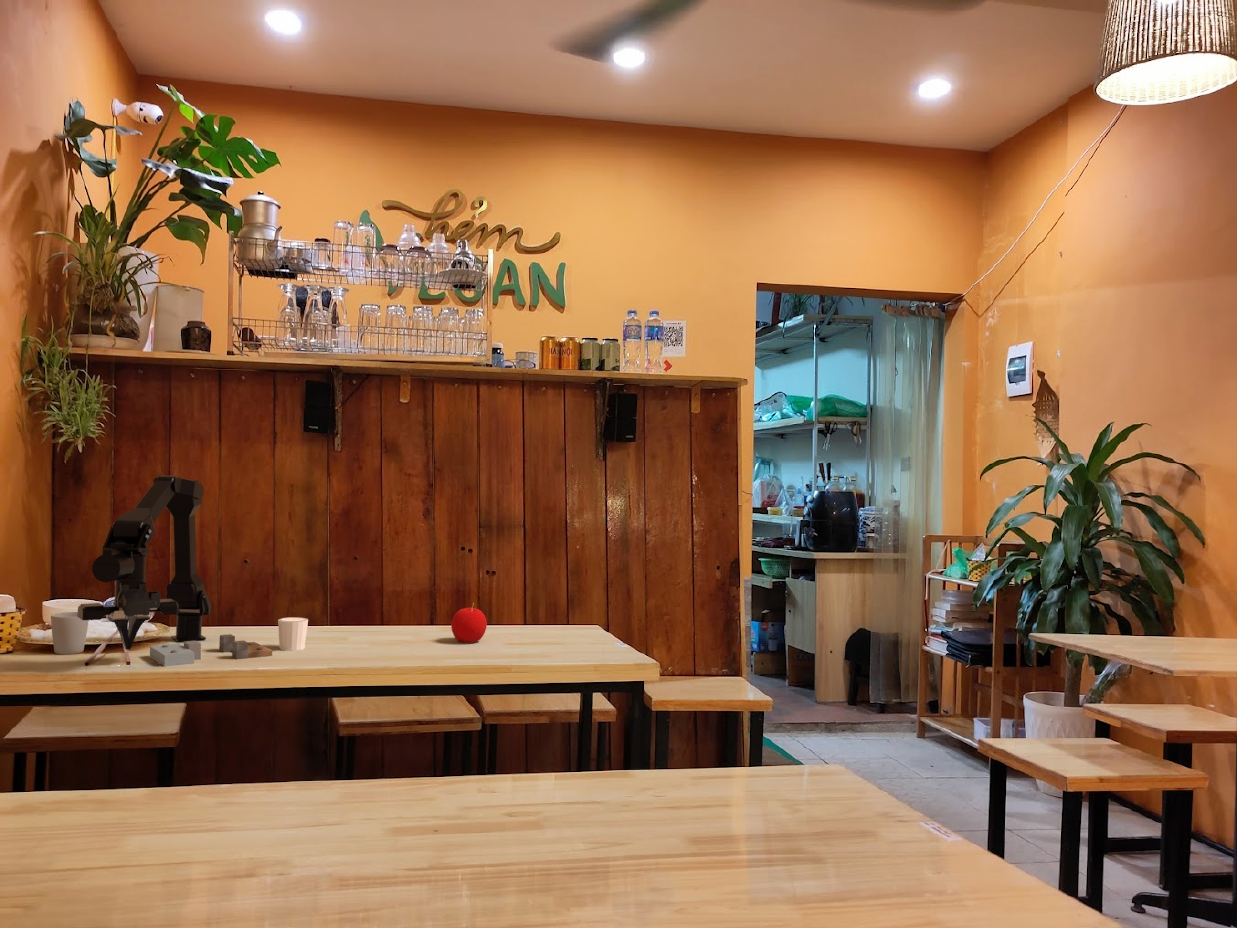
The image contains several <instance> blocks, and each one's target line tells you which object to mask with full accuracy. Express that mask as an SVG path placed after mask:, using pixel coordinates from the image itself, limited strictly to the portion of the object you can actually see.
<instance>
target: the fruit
mask: <svg viewBox="0 0 1237 928" xmlns="http://www.w3.org/2000/svg"><path fill="white" fill-rule="evenodd" d="M474 605H475V603H474V602H472V606H471V607H464V608H461V609H459V610H457V612H455V614H454V616H453V618H452V620H451V631H452V634H453V637H454V638H455V640H456V641H457V642H460V643H464V644H465V643H466V644H467V643H468V644H471V643H474V642H479V641H481V639H482V638H483V637H484V635H485V633H486V630H487V625H488V624H487V621H488V620H487V618H486V616H485V614H484V613H483V611H481V610H480V609H478V608H475V607H474Z"/></svg>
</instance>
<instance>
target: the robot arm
mask: <svg viewBox="0 0 1237 928" xmlns="http://www.w3.org/2000/svg"><path fill="white" fill-rule="evenodd" d="M204 493H205V492H204V487H203V484H201V483H200V481H199V480H198V479H185V478H181V477H180V476H176V475H158V476H155V477H154V480H153V484H152V485H151V487H150V488H149V489H148V490H147V491H146V493H145V494H144V496H143V497H142V498H141V500H140V501H139V502H138V503H137V505H136V506H135V507H134V508H133V509H132V510H130V511H126V512H125V513H122V514H121V515H120V516H119V517H118V518H117V519H116V520H114V522H113V524H112V525H111V527H110V529H109V532H108V534H107V537H106V539H105V541H104V544H103V546H102V555H98V556H97V558H96V559H95V560H94V562H93V564H92V565H91V572H92V574H93V576H94V578H95V579H96V580H97V581H100V582H101V583H110V582H114V599H113V605H106V606H104V604H102V603H100V602H91V603H81V604H80V605H79V606H78V607H77V612H78V616H77V617H78V618H80V619H81V620H89V621H96V620H97V621H98V620H101V619H103V618H104V617H105V616H107V620H108V621H110V622H111V623H114V625H115V627H116V629H117V630H118V633H119V637H120V639H121V641H122V644H123V646H124V649H125V650H126V651H128V650H129V651H130V650H131V649H132V646H133V644H134V642H135V640H136V637H137V634H138V633H139V630H140V629H141V627H142V625H143V624H144V623H145V621H150V619H151V617H150V616H149V615H150V613H157V612H158V613H161V615H163V616H171V615H175V616H176V625H175V626H176V628H175V629H176V630H175V635H171V636H170V637H171V639H173V640H174V641H176V642H178V643H179V642H181V643H182V642H186V641H204V640H206V639H207V637H206V636H204V635H202V628H203V627H202V624H203V617H204V616H208V615H210V613H211V611H212V603H211V601H210V599H209V596H208V594H207V592H206V588H205V583H204V581H203V579H202V577H200V575H199V574H198V573H197V572H198V571H197V570H198V569H197V546H196V545H197V543H196V542H197V540H196V513H197V512H198V511H199V509H200V508H201V505H202V503H203V497H204ZM165 508H166V509H167V511H168V512H169V514H171V516H172V521H173V522H172V523H173V524H172V525H173V527H172V528H173V555H174V556H173V557H174V562H173V563H174V575H173V577H172V579H171V581H170V582H169V583H167V585H166V597H165V598H161V592H160V590H149V591H147V582H146V569H147V568H146V567H147V564H146V563H147V555H149V554H150V552H151V551H150V550H149V548H148V546H149V544H150V542H151V541H152V539H153V537H154V535H155V532H156V528H155V522H156V520H157V519H158V518H159V517H160V515H161V513H162V512H163V511H164V509H165ZM127 617H128V618H127Z"/></svg>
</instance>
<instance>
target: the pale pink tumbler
mask: <svg viewBox="0 0 1237 928" xmlns="http://www.w3.org/2000/svg"><path fill="white" fill-rule="evenodd" d="M308 622H309V619H308V618H305V617H297V616H295V617H293V616H292V617H291V616H290V617H283V618H279V619H277V623H278V624H277V625H278V628H277V629H278V645H279V650H281V651H286V652H287V651H289V652H293V651H294V652H295V651H303V650H305V647H306V641H307V640H306V639H307V633H308Z"/></svg>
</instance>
